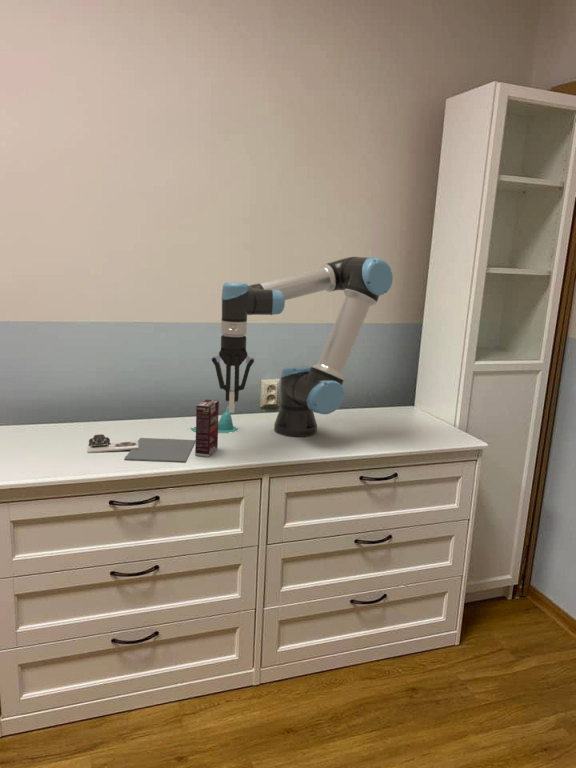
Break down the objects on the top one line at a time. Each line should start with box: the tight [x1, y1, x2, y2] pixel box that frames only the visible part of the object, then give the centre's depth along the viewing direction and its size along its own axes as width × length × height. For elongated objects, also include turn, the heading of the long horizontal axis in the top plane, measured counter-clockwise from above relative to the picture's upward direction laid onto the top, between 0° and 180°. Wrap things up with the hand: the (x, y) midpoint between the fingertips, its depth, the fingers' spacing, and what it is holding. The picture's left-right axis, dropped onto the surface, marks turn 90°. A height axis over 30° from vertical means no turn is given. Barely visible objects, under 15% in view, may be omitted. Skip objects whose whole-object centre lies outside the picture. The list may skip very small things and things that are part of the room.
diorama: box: [190, 405, 239, 434], centre depth 212 cm, size 12×20×9 cm, turn 100°
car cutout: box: [87, 433, 139, 454], centre depth 187 cm, size 15×7×4 cm, turn 105°
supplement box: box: [194, 399, 220, 458], centre depth 186 cm, size 9×5×16 cm, turn 168°
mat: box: [123, 437, 196, 463], centre depth 188 cm, size 18×20×1 cm
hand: (231, 411), depth 185 cm, fingers closed
